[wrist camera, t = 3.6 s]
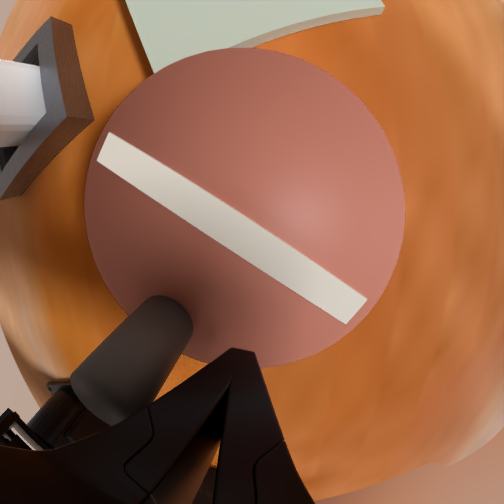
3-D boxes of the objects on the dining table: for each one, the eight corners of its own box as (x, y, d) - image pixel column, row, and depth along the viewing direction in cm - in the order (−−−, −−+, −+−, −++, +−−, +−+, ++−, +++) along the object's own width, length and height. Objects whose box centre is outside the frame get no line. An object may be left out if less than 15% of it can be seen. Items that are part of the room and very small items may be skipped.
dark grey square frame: (21, 195, 12) (-2, 201, 10) (4, 103, 10) (-15, 103, 9) (94, 119, 10) (66, 116, 8) (71, 25, 8) (50, 16, 7)
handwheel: (78, 252, 10) (-14, 303, 5) (189, 25, 7) (109, -56, 2) (274, 385, 10) (257, 494, 5) (442, 181, 7) (560, 208, 2)
